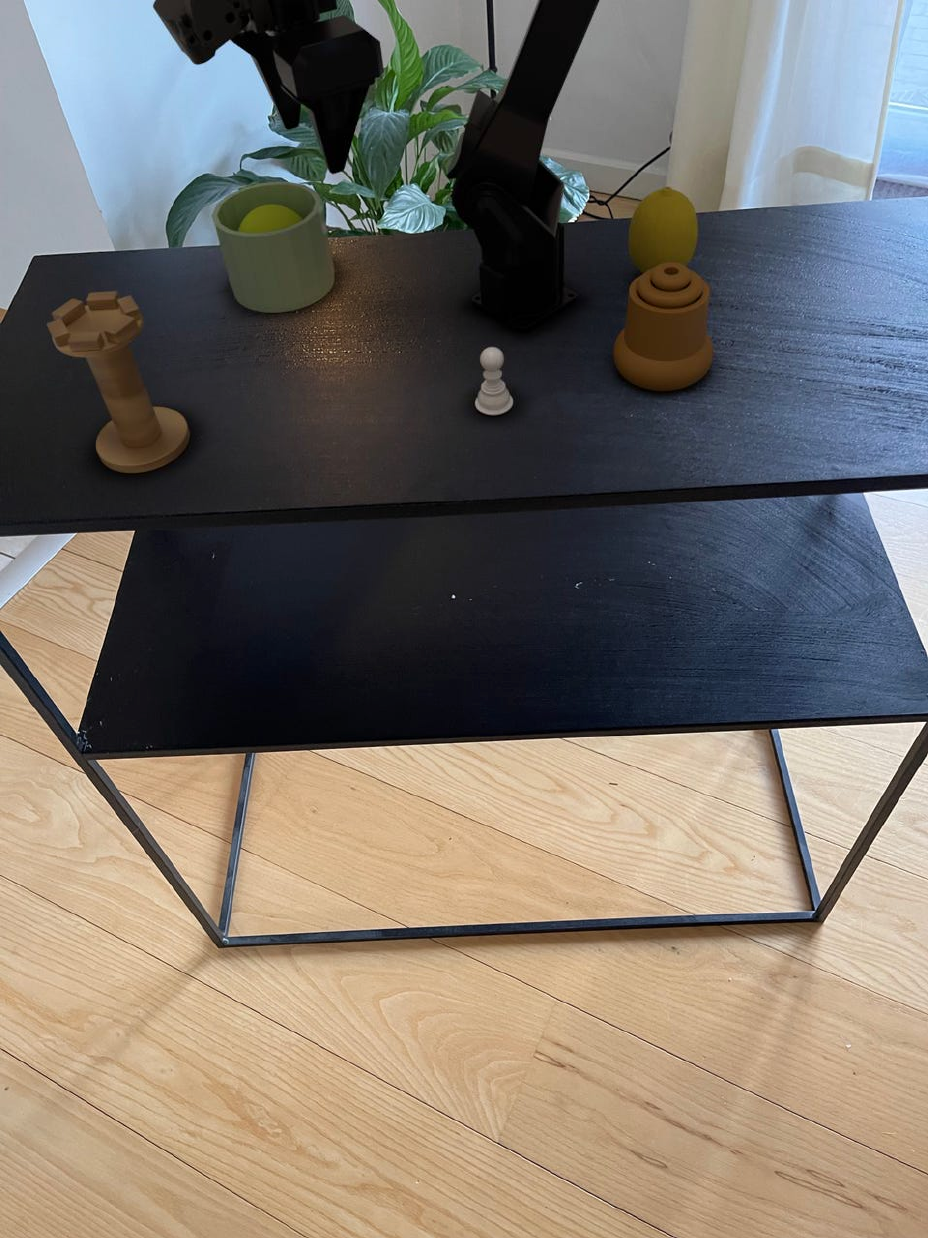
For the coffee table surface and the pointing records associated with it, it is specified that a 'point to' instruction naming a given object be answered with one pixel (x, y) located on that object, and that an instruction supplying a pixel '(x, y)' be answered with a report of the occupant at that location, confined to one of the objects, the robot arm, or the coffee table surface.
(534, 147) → the robot arm
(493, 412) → the chess pawn
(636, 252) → the lemon
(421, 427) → the coffee table surface
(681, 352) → the ornamental finial
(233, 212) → the cup
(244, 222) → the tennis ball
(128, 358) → the chess rook
